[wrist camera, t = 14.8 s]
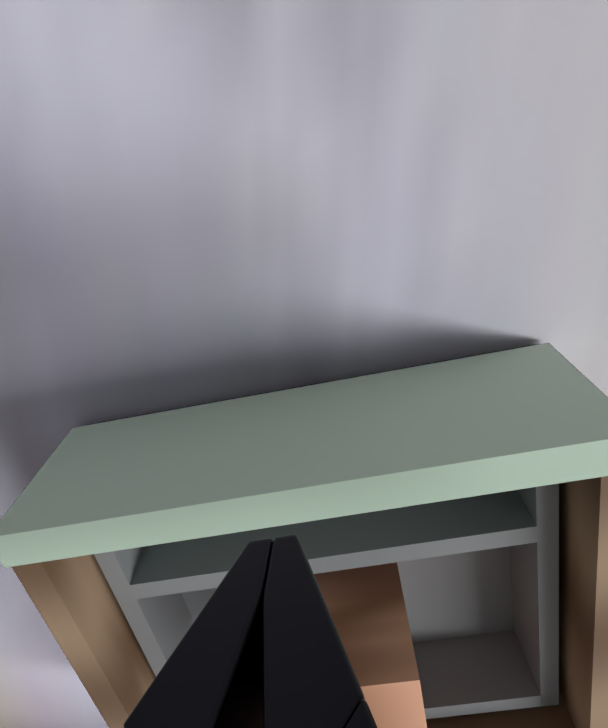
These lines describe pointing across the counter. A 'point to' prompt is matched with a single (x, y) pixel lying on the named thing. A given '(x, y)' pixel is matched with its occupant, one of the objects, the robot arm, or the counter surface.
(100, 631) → the sleeve
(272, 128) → the counter surface
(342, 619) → the block
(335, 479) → the tray
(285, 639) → the robot arm
